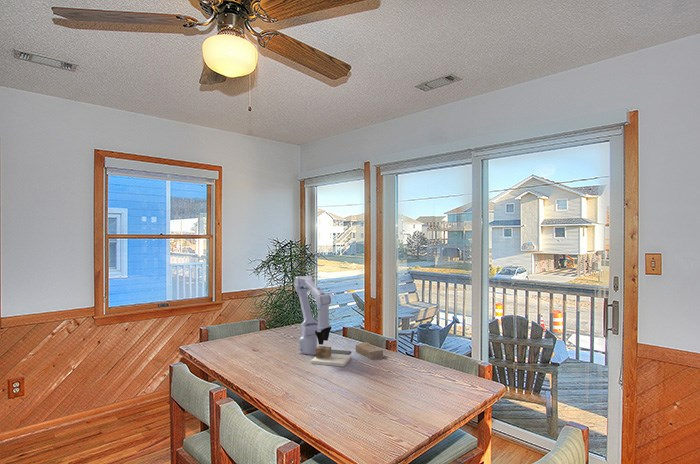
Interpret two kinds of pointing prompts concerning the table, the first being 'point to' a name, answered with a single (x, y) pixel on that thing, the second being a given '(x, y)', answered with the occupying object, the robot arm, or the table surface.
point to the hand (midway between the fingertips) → (323, 342)
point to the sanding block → (323, 352)
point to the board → (332, 360)
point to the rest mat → (340, 352)
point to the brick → (369, 350)
